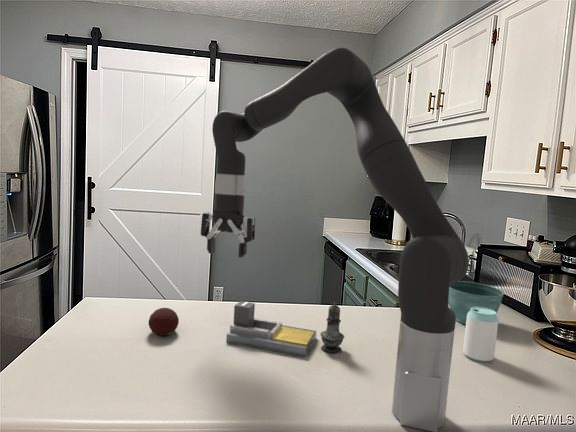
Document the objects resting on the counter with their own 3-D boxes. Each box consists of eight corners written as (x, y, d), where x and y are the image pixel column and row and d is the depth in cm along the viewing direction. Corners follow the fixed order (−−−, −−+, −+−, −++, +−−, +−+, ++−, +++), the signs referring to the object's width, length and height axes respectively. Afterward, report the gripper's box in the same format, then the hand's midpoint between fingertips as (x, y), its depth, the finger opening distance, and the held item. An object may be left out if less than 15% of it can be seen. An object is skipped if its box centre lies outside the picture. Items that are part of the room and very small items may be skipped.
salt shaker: (315, 350, 101) (319, 302, 100) (324, 342, 106) (328, 296, 105) (338, 356, 98) (342, 307, 97) (346, 348, 103) (350, 301, 102)
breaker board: (304, 356, 97) (305, 342, 96) (225, 342, 102) (226, 328, 102) (315, 338, 108) (316, 325, 108) (244, 325, 114) (244, 313, 113)
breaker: (247, 331, 105) (249, 307, 104) (233, 328, 106) (234, 304, 105) (253, 325, 109) (254, 302, 108) (239, 323, 110) (240, 300, 109)
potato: (145, 340, 100) (146, 315, 100) (151, 325, 110) (152, 302, 110) (176, 340, 102) (177, 316, 101) (180, 325, 111) (180, 302, 111)
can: (475, 364, 99) (481, 315, 98) (456, 351, 106) (461, 305, 104) (500, 362, 101) (506, 314, 99) (479, 350, 107) (484, 305, 106)
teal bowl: (511, 329, 125) (516, 294, 124) (470, 333, 119) (475, 297, 118) (470, 311, 140) (473, 280, 139) (432, 314, 134) (435, 282, 133)
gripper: (197, 190, 104) (194, 254, 106) (250, 195, 100) (246, 261, 102) (211, 189, 111) (208, 249, 113) (261, 194, 107) (257, 255, 109)
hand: (226, 255), depth 107 cm, fingers open, 8 cm apart
